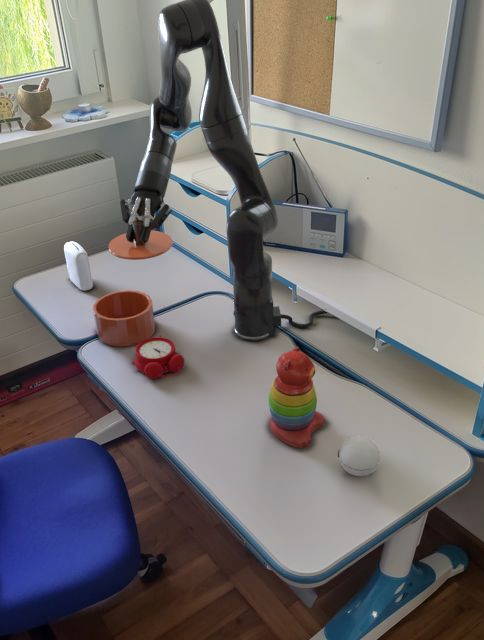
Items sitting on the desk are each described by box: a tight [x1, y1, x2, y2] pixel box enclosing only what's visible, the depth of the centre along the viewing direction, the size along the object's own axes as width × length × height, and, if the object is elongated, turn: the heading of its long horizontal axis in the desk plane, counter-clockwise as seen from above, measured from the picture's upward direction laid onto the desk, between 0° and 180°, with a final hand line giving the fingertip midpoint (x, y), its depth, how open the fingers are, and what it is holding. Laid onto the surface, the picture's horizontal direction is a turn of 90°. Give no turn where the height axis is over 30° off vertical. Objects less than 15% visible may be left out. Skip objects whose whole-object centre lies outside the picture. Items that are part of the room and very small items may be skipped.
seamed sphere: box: [337, 435, 381, 477], centre depth 119 cm, size 10×7×7 cm
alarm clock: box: [131, 334, 185, 380], centre depth 152 cm, size 10×6×15 cm
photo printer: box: [63, 240, 94, 291], centre depth 186 cm, size 10×4×12 cm, turn 32°
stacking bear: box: [268, 346, 326, 449], centre depth 128 cm, size 11×10×18 cm
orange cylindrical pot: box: [92, 289, 156, 347], centre depth 165 cm, size 15×15×8 cm
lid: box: [108, 219, 173, 261], centre depth 160 cm, size 16×16×7 cm
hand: (136, 241), depth 159 cm, fingers closed on lid, 3 cm apart
